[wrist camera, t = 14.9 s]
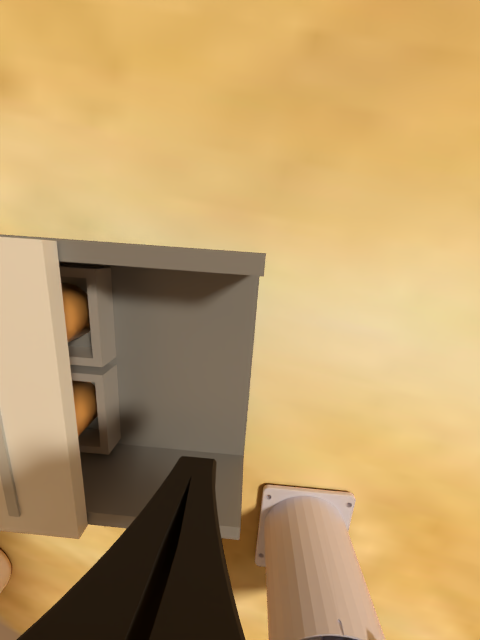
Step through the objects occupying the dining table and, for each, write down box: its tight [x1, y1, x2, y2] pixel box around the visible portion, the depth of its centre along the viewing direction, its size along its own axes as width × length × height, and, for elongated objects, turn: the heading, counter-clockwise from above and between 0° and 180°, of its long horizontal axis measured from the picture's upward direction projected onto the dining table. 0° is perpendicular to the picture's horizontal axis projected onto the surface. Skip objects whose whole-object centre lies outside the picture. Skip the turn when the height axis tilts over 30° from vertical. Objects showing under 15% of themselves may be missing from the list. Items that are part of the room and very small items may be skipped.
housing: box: [0, 235, 266, 540], centre depth 17 cm, size 17×18×7 cm
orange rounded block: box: [72, 380, 98, 436], centre depth 17 cm, size 4×4×5 cm
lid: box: [0, 237, 88, 539], centre depth 13 cm, size 17×7×1 cm, turn 176°
